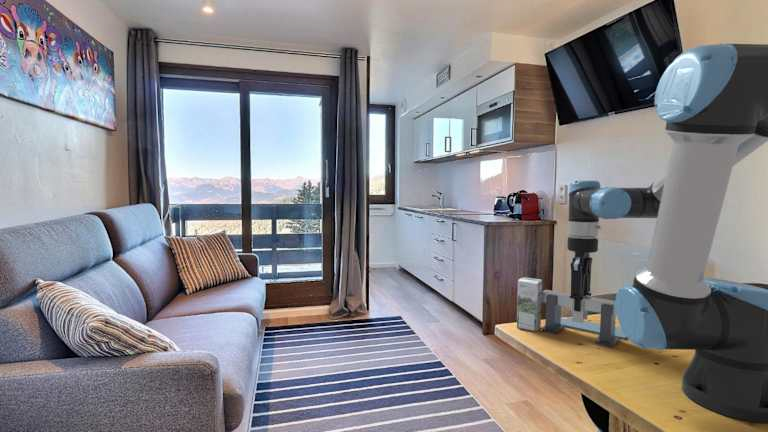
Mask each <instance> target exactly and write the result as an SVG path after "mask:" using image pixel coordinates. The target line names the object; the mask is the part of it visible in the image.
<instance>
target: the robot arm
mask: <svg viewBox="0 0 768 432" xmlns="http://www.w3.org/2000/svg"><path fill="white" fill-rule="evenodd" d="M654 107H656V109H655V112H656V114H657V116H658V117H659V118H660V119H661V120H662V121H665V122H666V124H665V129H664V132H665V133H666V134H667V136H669V137H670V139H671V140H672V145H671V151H670V156H669V160H668V164H667V168H666V169H667V170H666V171H665V172H664V173H663V174H662V175H661V176H659V178H657V179H656V180H655V181H654V182H652V184H651V185H649V186H647V187H614V186H612V187H611V186H610V187H609V186H606V187H601V183H600V181H598V180H573V181H571V182H570V184H569V191H568V220H567V221H568V222H567V235H568V237H567V245H566V246H567V250H568V251H571V252H574V256H573V257H572V261H571V262H570V294H571V296H570V298H572V299H573V308H571V309H572V310H571V311H572V313H571V316H572V317H571V318H572V322H577V323H582V324H583V321H587V320H588V310H584V299H583V296H589V297H592V292H591V278H592V264H593V257H590V256H591V255H590V253H596V252H598V251H599V239H598V238H597V237H599V230H601V228H602V226H601V225H599V224H600V223H599V222H600V219H603V220H617V219H656V221H655V225H654V230H653V235H652V240H651V244H650V249H649V254H648V256H647V257H648V258H647V263H646V266H644V267H643V268H640V269H637V271H636V272H635V275H634V278H633V284H632V285H626V286H623V287H621V288H620V289H618V291H617V293H616V295H615V300H614V301H615V308H616V314H617V316H616V318H617V320H618V321H617V322H618V323H619V325H620V328H622V330H623V332H624V334H625V335H626V336H627V338H626V339H628V340H629V341H630V342H631V343H632V344H634V345H635V346H636V347H638V348H641V349H648V350H649V349H652V350H658V351H664V350H686V351H687V350H693V351H694V355H693V357H692V359H691V361H690V362H689V363H688V364H689V365H688V366H687V368H686V369H685V372H684V374H683V375H682V381H681V390H682V392H683V394H685V396H686V397H688V398H689V399H691V401H693V402H695V403H696V404H698V405H700V406H702V407H704V408H706V409H709V410H710V411H713V412H716V413H719V414H720V415H724V416H727V417H730V418H734V419H737V420H743V421H748V422H754V423H760V424H761V423H762V424H763V423H764V424H768V289H766V288H762V287H758V286H754V285H752V284H751V285H750V284H746V283H741V282H737V281H731V280H727V279H721V278H720V279H719V278H713V277H705V273H706V270H707V266H708V261H709V259H710V258H709V257H710V254H711V250H712V246H713V242H714V240H715V235H716V233H717V232H716V231H717V228H718V223H719V220H720V215H721V212H722V208H723V205H724V202H725V197H726V193H727V191H728V190H727V189H728V186H729V182H730V178H731V174H732V171H733V167H734V166H735V165H737V164H738V163H740V162H741V161H743V160H744V159H746V157H748V156H749V155H751V154H752V153H754V152H755V151H756V150H758V149H759V148H761V146H763V145H765V143H767V142H768V44H765V43H718V44H708V45H698V46H694V47H691V48H688V49H687V50H685V51H683V52H682V53H681V54H679V55H678V56H677V57H675V59H674V60H673V61H672V62H671V63H669V65H668V67H666V69H665V71H664V72H663V74H662V75H661V77H660V79H659V82H658V85H657V86H656V90H655V94H654Z"/></svg>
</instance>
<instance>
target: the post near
mask: <svg viewBox="0 0 768 432" xmlns="http://www.w3.org/2000/svg"><path fill="white" fill-rule="evenodd" d="M612 307H613V306H607V305H601V313H600V320H599V321H600V323H599V324H600V334H598V337H596V339H595V341H594V343H595V344H596V345H600V346H605V347H607V348H608V347H610V348H615V347H616V345H617V343H618V342H619V341H620V339H619V337H617V336H615V327H616V318H617V316H615V315H612Z"/></svg>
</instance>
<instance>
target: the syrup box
mask: <svg viewBox="0 0 768 432" xmlns="http://www.w3.org/2000/svg"><path fill="white" fill-rule="evenodd" d="M542 288H543V279H539V278H531V277H525V276H524V277H521V278H519V279H518V280H517V300H516V301H517V304H516V305H517V306H516V329H519V330H525V331H530V332H535V333H537V332H538V330H539V329H540V327H541V326H542V322H541V320H542V319H541V318H542V317H541V315H542V314H541V313H542V302H541V298H542Z"/></svg>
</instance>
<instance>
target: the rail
mask: <svg viewBox="0 0 768 432" xmlns="http://www.w3.org/2000/svg"><path fill="white" fill-rule="evenodd" d="M547 295H548V296H554V297H556V305H560V306H561V307H565V308H566V307H567V308H571V309H573V299H572V298H570V296H571V292H570V293H568V292H564V291H557V290H550V289H544V290H543V291H542V295H541V303H544V304H546V296H547ZM583 299H584V310H588V311H589V312H593V313H600V314H601V305H607V306H613V307H612V315H615V316H616V317H617V314H616V308H615V300H612V299H606V298H600V297H593V296H587V295H586V296H583ZM588 311H587V312H588Z"/></svg>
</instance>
